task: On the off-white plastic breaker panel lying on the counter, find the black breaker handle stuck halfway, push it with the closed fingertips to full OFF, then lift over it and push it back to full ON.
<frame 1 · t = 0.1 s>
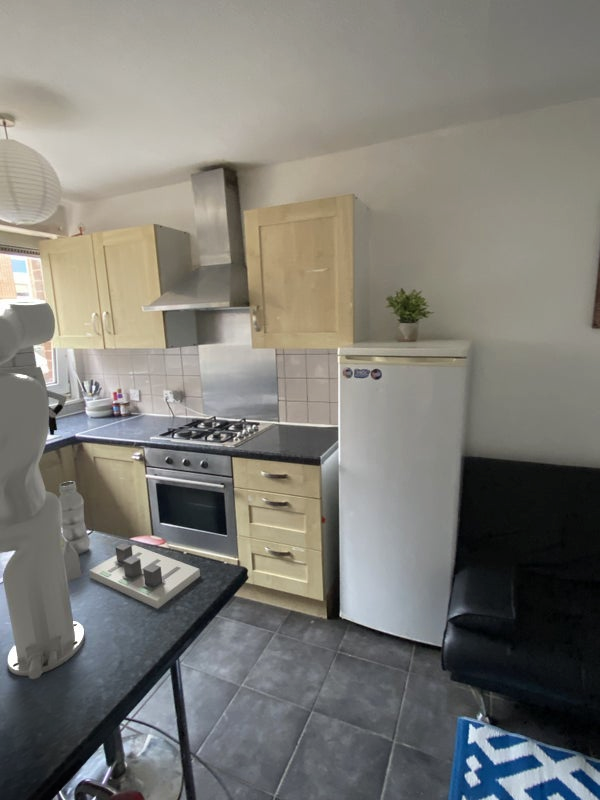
hand: (27, 437, 92), 37 cm above the table, tool pointing down, fingers open, 9 cm apart
plastic bottle: (77, 553, 112), on the table
tea bag: (69, 574, 102), on the table
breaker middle: (132, 567, 96), point 4 cm above the table, slide at 3.0 cm
breaker near: (152, 575, 93), point 4 cm above the table, slide at 3.0 cm
breaker tripped: (124, 553, 102), point 4 cm above the table, slide at 0.0 cm
panel: (144, 576, 100), on the table
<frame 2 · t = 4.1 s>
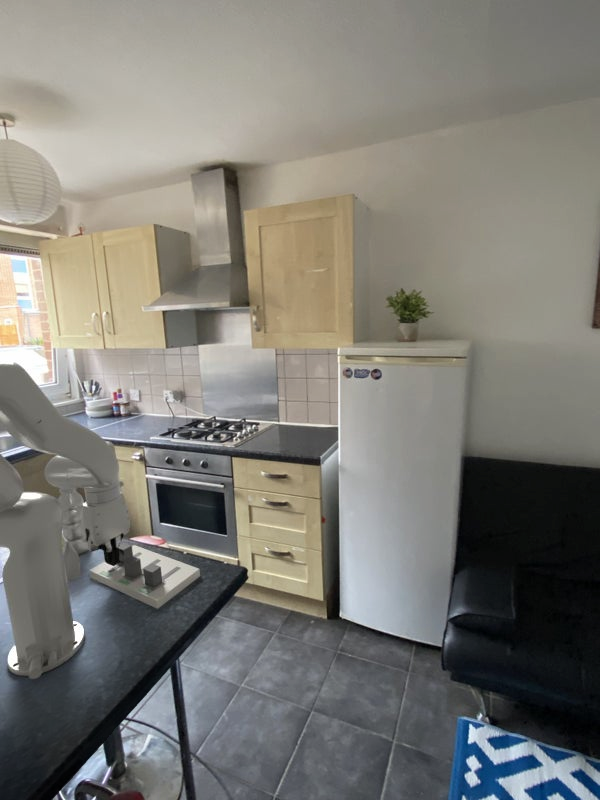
hand: (112, 562, 100), 4 cm above the table, tool pointing down, fingers closed
breaker tripped: (124, 553, 102), point 4 cm above the table, slide at -0.1 cm, touching gripper
everything else where it was.
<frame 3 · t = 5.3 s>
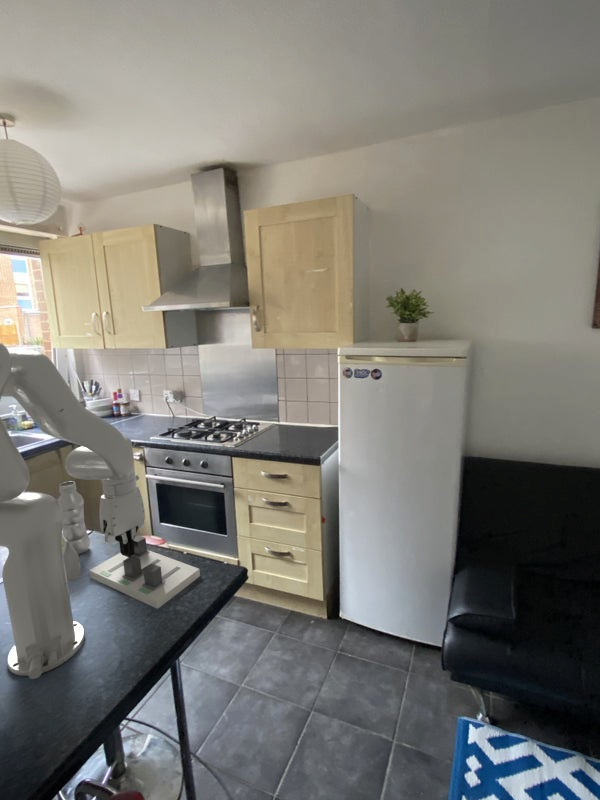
hand: (128, 554, 104), 3 cm above the table, tool pointing down, fingers closed
breaker tripped: (138, 545, 106), point 4 cm above the table, slide at -4.3 cm, touching gripper
everything else where it was.
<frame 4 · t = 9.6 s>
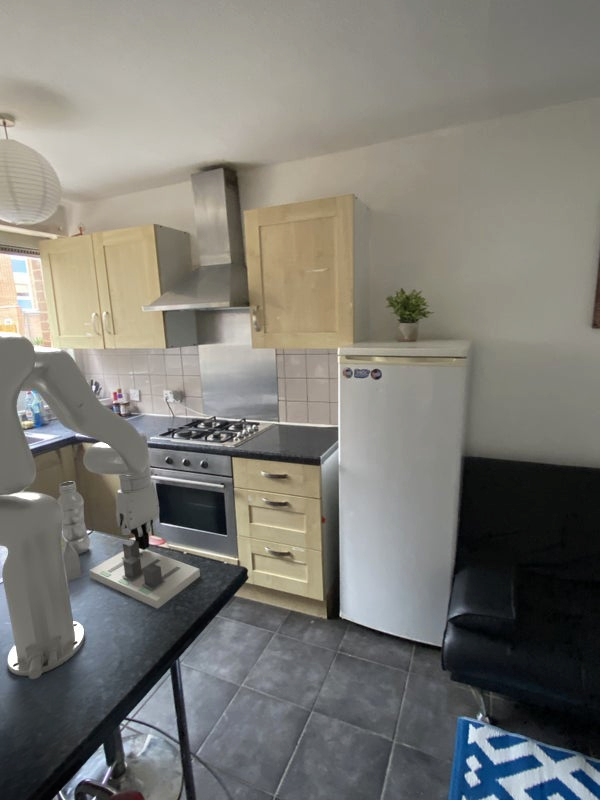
hand: (143, 547, 107), 3 cm above the table, tool pointing down, fingers closed
breaker tripped: (131, 549, 104), point 4 cm above the table, slide at -2.0 cm, touching gripper
everything else where it was.
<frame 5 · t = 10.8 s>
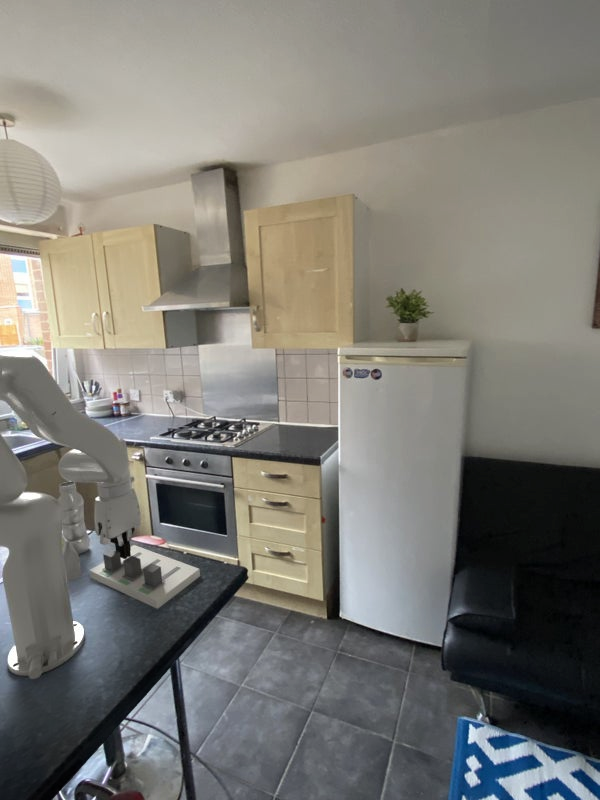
hand: (124, 556, 103), 4 cm above the table, tool pointing down, fingers closed
breaker tripped: (112, 560, 100), point 4 cm above the table, slide at 3.4 cm, touching gripper
everything else where it was.
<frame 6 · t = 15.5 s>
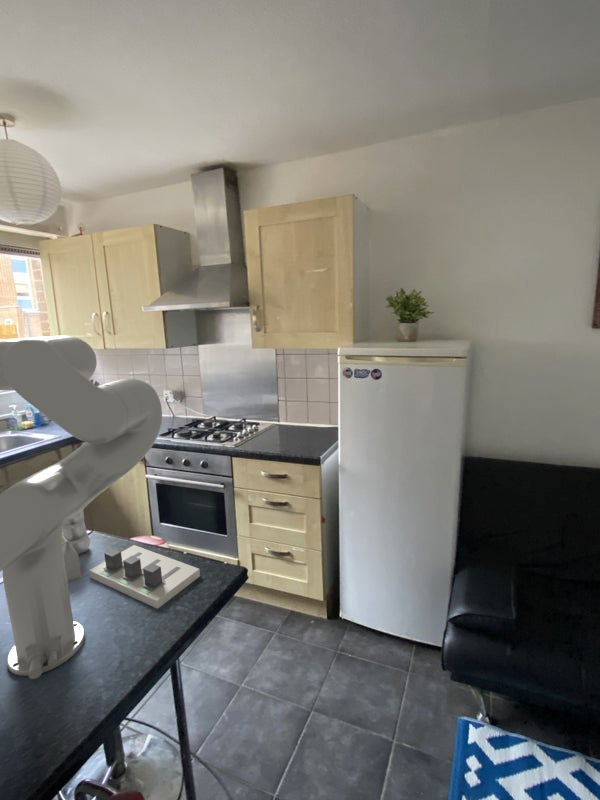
breaker tripped: (113, 559, 100), point 4 cm above the table, slide at 3.1 cm
everything else where it was.
at the end: breaker tripped slide at 3.1 cm; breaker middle slide at 3.0 cm; breaker near slide at 3.0 cm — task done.
